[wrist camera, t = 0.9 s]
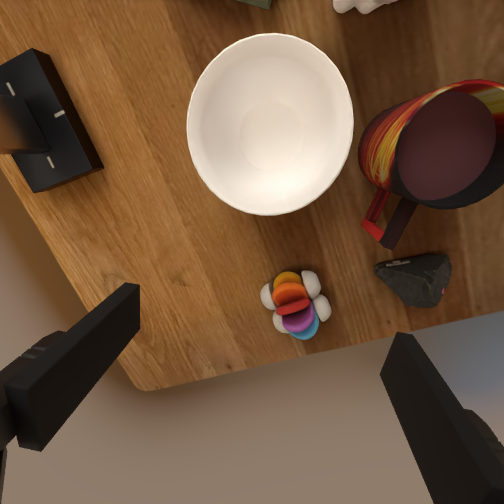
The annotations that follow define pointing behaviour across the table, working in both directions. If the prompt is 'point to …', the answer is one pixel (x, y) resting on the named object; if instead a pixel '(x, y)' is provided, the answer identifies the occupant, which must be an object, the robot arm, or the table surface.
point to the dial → (19, 128)
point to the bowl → (270, 124)
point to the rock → (417, 278)
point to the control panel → (49, 123)
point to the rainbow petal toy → (296, 303)
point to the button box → (258, 3)
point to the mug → (434, 153)
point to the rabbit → (359, 5)
